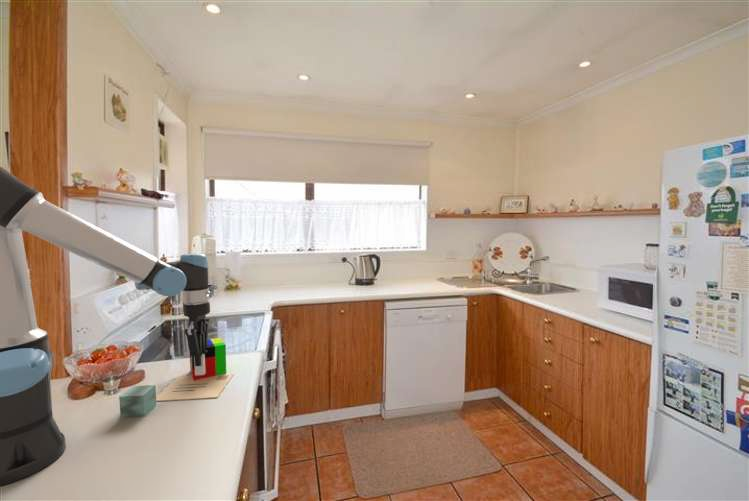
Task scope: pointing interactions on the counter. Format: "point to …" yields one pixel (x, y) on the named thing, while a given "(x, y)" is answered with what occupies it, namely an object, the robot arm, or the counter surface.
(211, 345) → the puzzle toy
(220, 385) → the letter card
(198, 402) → the counter surface
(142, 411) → the teal block
